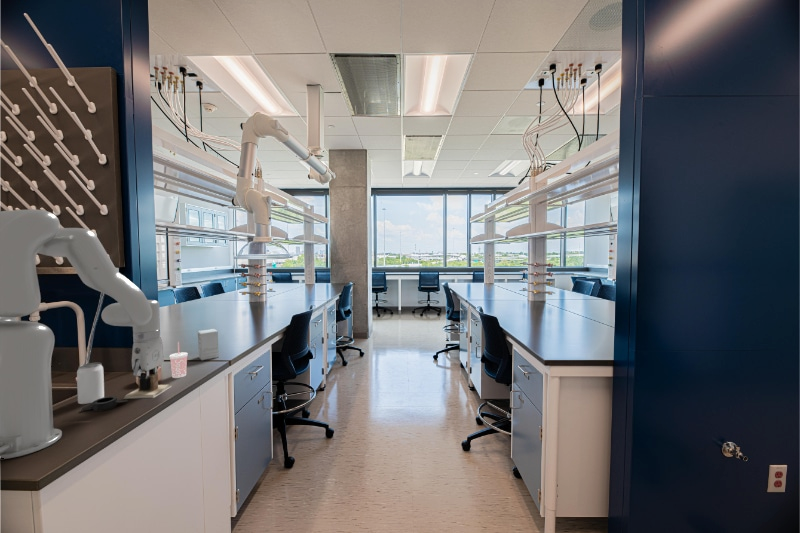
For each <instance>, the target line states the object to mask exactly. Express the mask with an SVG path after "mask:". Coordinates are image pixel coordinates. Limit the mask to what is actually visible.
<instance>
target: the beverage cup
mask: <svg viewBox="0 0 800 533" xmlns="http://www.w3.org/2000/svg"><path fill="white" fill-rule="evenodd" d="M188 354H189V353H188V352H186V351H185V352H183V351H181V352H180V341H177V352H175V353H171V354H170V355H169V359H170V367H171V377H172V379H179V378H184V377H185V376H187V369H188V368H187V366H188V364H187V362H188Z"/></svg>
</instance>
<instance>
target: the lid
mask: <svg viewBox="0 0 800 533" xmlns="http://www.w3.org/2000/svg"><path fill="white" fill-rule="evenodd" d="M149 378H150V380H151V389H150V390H140V379H138V384H137V385H138V388H136V389H135V390H133V391H131V392H129V393H127V394H126V395H125V396H124V398H129V399H136V398H135V397H154V396H156V395H157V394H159V393H161V392H162V391H164V390H165V389H167V388H169V387H170V386H171V385H170V384H159V381H158V374H149ZM170 388H171V387H170ZM170 388H169V389H170ZM167 390H168V389H167ZM164 392H165V391H164ZM162 393H163V392H162ZM162 393H161V394H162ZM159 395H160V394H159ZM156 397H157V396H156Z"/></svg>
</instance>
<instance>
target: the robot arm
mask: <svg viewBox="0 0 800 533" xmlns="http://www.w3.org/2000/svg"><path fill="white" fill-rule="evenodd" d="M38 254H40V255H44V256H47V257H48V256H49V257H53V258H66V259H67V261H68V262H69V264H71V266H72V267H73V269H74V271H75V272H76V274H77V275H78V277H79V278H80V280H81V281H82V283H83V284H85V286H87V287H88V288H90V289H93V290H95V291H98V292H99V293H103V294H105V295H107V296H109V297H111V298H112V299H114V300H115V301H117V302H115V303H111V304H108V305H107V306H105V307H104V308H103V310H102V312H101V315H100V316H101V319H102V321H103V322H104V323H105V324H107V325H109V326H113V327H116V326H117V327H132V337H133V338H132V339H133V344H132V351H131V353H132V354H131V367H132V370H133V374H132V375H133V376H134V377H136V376H138V379H140V390H150V389H151V380H150V378H149V374H157V369H158V367H159V366H161V365H162V364H163V363H164V361H165V352H164V345H163V341H162V337H161V317H160V313H161V312H160V303H159V301H158V300H155V299H148V298H147V297H146V295H145V293H144V292H143V291H142V290H141V288H139V287H138V286H137V285H136V284H135V283H134V282H133V281H131V280H130V279H129V278H127V277H126V276H125V275H124V274H122V273H121V272H119V271H118V269H117V267H116V266H115V265H114V263H113V261H112V260H111V258H110V256H109V255H108V252H107V250H106V249H105V248H104V246H103V244H102V243H101V241H100V239H99V238H98V236H97V235H96V234H95V233H94V232H93V231H91V230H90V229H88V228H82V227H81V228H80V227H61V223H60V220H59V218H58V217H57V215H55V214H54V213H52V212H50V211H47V210H43V209H33V208H32V209H29V208H28V209H16V210H15V209H14V210H13V209H12V210H3V211H0V456H1V457H2V458H4V459H3V460H7V459H14V458H17V457H22V456H26V455H29V454H33V453H35V452H37V451H41V450H42V449H46V448H47V447H49V446H52V445H53V444H55V443H57V441H58V440H60V439H62V436H63V431H62V429H60V428H54V419H53V418H54V415H53V413H54V412H53V395H52V394H53V392H52V391H53V388H52V367H51V366H52V356H53V351H54V348H55V342H56V341H55V340H56V339H55V335H54V332H53V330H52V329H51V328H50V327H49V326H47V325H46V324H44V323H40V322H37V321H28V320H17V318H19V317H20V318H22V317H26V316H29V315H31V314H33V313H34V312H36V311H37V310H38V308H40V306H41V303H42V302H41V299H42V298H41V297H42V296H41V292H40V285H39V279H38V278H39V277H38V273H37V267H36V266H37V265H36V264H37V262H36V260H37V255H38ZM142 372H145V373H142Z"/></svg>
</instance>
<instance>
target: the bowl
mask: <svg viewBox="0 0 800 533" xmlns="http://www.w3.org/2000/svg"><path fill="white" fill-rule="evenodd" d="M142 373H145V372H142ZM157 374H158V382H159V381H161V379H162V366H161V365H160V366H159V367H158V369H157ZM135 382H136V384H137V385H138V376H135Z"/></svg>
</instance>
